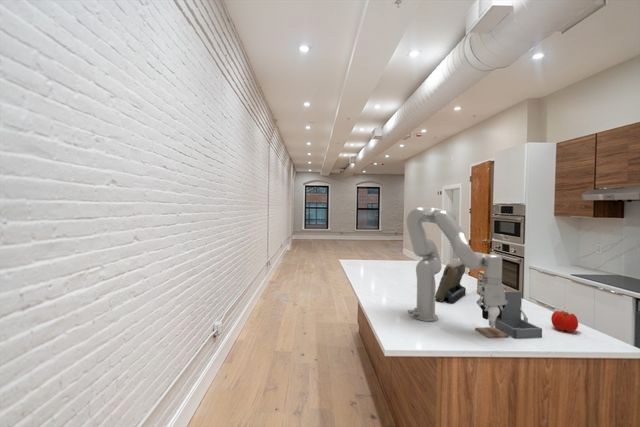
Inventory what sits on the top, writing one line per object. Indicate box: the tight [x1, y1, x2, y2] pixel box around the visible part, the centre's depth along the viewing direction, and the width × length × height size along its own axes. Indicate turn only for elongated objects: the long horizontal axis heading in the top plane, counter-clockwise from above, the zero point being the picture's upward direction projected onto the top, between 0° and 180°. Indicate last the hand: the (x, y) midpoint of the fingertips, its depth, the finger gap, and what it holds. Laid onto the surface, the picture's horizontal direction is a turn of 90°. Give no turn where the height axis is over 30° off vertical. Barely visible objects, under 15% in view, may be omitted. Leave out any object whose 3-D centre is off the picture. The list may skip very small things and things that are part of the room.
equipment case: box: [494, 290, 543, 339], centre depth 151 cm, size 14×14×18 cm
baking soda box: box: [476, 270, 484, 296], centre depth 217 cm, size 10×6×16 cm
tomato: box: [550, 310, 579, 333], centre depth 155 cm, size 11×11×9 cm
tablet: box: [435, 259, 467, 304], centre depth 209 cm, size 33×14×25 cm, turn 145°
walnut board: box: [474, 326, 509, 339], centre depth 149 cm, size 10×10×1 cm
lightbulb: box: [487, 306, 500, 328], centre depth 149 cm, size 6×6×11 cm
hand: (491, 318), depth 149 cm, fingers closed on lightbulb, 6 cm apart
